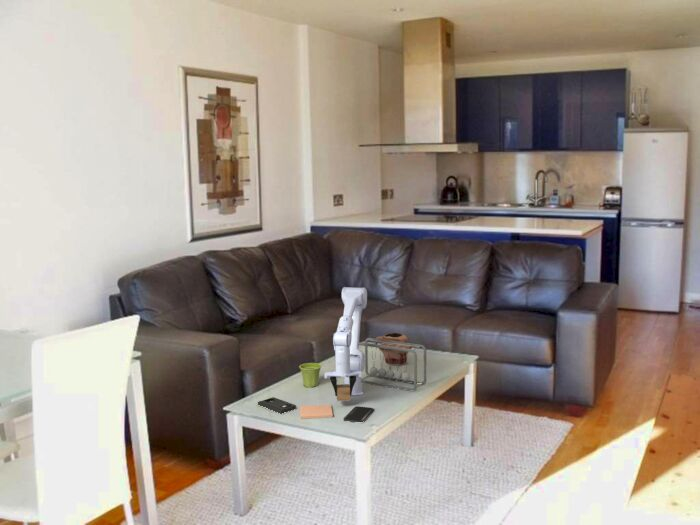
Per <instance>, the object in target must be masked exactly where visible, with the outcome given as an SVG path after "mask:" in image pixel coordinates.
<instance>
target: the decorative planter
mask: <svg viewBox="0 0 700 525" xmlns="http://www.w3.org/2000/svg"><path fill="white" fill-rule="evenodd" d="M375 338H376V339H383V340H391V341H398V342H405V343H410V339H409V337H407V335H405V334H403V333H400V332H390V333H386V334H384V335H382V336H376V337H375ZM382 343H383V344H382ZM374 344H377V345H378V344H379V342H376V341H374ZM380 344H381V345H384V342H380ZM390 344H391V343H385V346H388V345H389V346H392V344H391V345H390ZM396 346H397V347H399V348H406V349H413V346H405V345H401V346H400V345H398V344H393V346H392V347H396ZM379 351H380V352H381V353H382V356H383V355H384V360H385V363H386V364H388V365H391V366H392V365H393V366H398V365H399V366H401V365H405V364H407V363H408V359H407V354H409V352H405V351H404V354H403V351H398V350H396V353H395V350H391V349H388V351H387V349H384V348H380V349H379ZM399 353H400V358H399ZM391 354H392V358H391ZM388 357H389V361H388ZM396 359H397V363H396ZM404 360H405V364H404Z"/></svg>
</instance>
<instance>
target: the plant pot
mask: <svg viewBox="0 0 700 525" xmlns="http://www.w3.org/2000/svg"><path fill="white" fill-rule="evenodd" d="M298 368H299V369H300V371H301V375H302V376H301V377H302V382H303V386H304V387H306V388H314V387H317V386H318V385H319V381H320V380H319V379H320V371H321V368H322V364H320V363H315V362H308V363H307V362H306V363H303V364H302V363H301V364H300V365H299V366H298Z"/></svg>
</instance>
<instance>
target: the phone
mask: <svg viewBox="0 0 700 525" xmlns="http://www.w3.org/2000/svg"><path fill="white" fill-rule="evenodd" d="M374 411H375V408H373V407H368V406H367V407H366V406H360V405H359V406H358V405H357V406H354V407H353V408H352V410H350V411H349V412H347V414H346V415H345V416H344V417H343V421H344V422H346V421H350V422H349V423H355V422H363V421H364V420H365V419H366V418H367V417H368V416H369V415H370V414H371V415H372V414H373V413H374ZM371 415H370V416H371ZM370 416H369V417H370ZM369 417H368V418H369ZM368 418H367V419H368ZM367 419H366V420H367ZM366 420H365V421H366ZM365 421H364V422H365ZM364 422H363V423H364Z"/></svg>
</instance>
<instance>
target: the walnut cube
mask: <svg viewBox="0 0 700 525" xmlns="http://www.w3.org/2000/svg"><path fill="white" fill-rule="evenodd" d="M336 400H337V402H343V401H345V402H346V401H351V395H350V386H349V384H344V383H343V384H337V396H336Z"/></svg>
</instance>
